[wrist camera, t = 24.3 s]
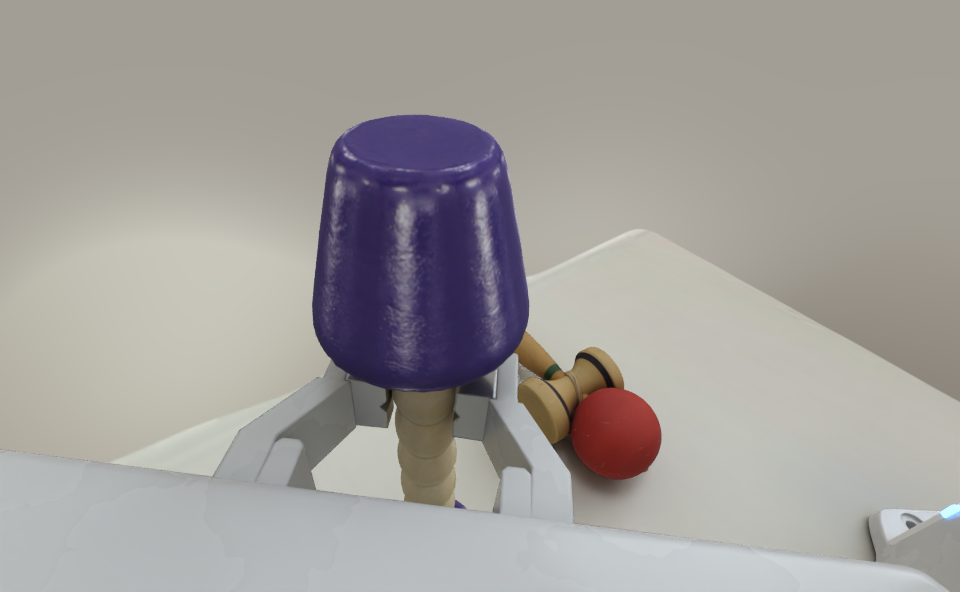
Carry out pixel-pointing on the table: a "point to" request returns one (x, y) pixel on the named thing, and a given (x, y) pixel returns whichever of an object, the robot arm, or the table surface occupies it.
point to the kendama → (590, 410)
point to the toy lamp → (419, 277)
